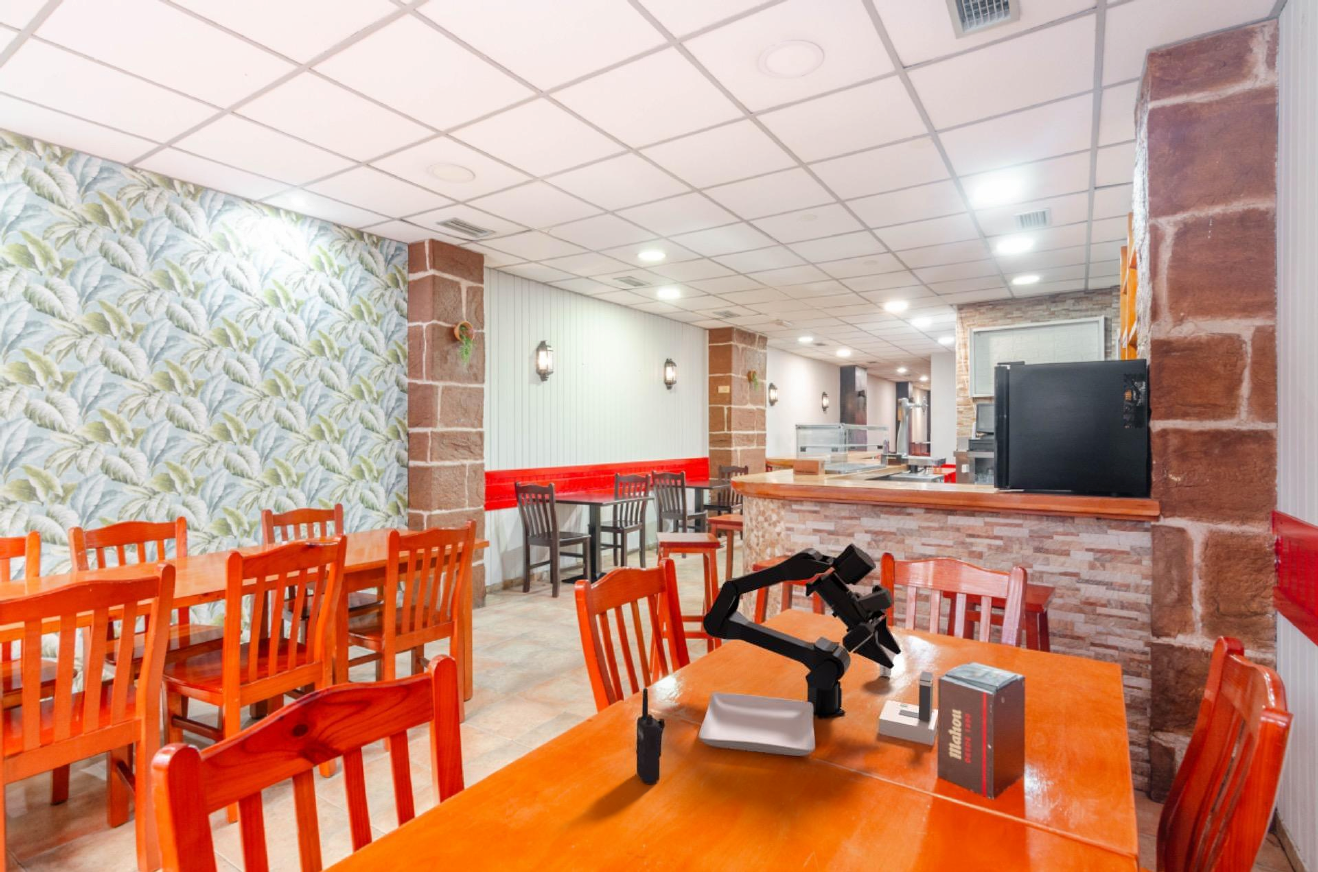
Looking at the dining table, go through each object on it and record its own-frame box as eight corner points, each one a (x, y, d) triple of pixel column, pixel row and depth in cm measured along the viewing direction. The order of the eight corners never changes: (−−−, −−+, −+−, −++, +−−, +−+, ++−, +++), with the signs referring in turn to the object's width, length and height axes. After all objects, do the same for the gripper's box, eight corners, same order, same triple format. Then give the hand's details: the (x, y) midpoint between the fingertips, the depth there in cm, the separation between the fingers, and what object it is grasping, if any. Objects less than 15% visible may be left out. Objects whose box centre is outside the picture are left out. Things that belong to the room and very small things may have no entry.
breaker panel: (878, 733, 131) (878, 717, 131) (886, 713, 140) (887, 699, 140) (933, 745, 127) (933, 729, 127) (938, 724, 136) (938, 709, 136)
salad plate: (815, 767, 119) (815, 748, 119) (696, 754, 123) (697, 735, 123) (813, 716, 140) (813, 700, 140) (711, 706, 144) (711, 690, 144)
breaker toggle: (918, 719, 130) (919, 679, 130) (921, 709, 135) (922, 670, 135) (929, 721, 129) (930, 681, 129) (932, 711, 134) (933, 672, 134)
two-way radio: (633, 771, 116) (634, 685, 116) (657, 766, 118) (658, 682, 117) (644, 787, 111) (645, 697, 111) (669, 782, 113) (670, 694, 112)
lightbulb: (895, 672, 164) (896, 627, 164) (902, 682, 158) (903, 635, 158) (868, 670, 165) (869, 626, 164) (874, 680, 158) (875, 634, 158)
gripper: (859, 583, 129) (920, 649, 124) (876, 565, 145) (931, 623, 140) (818, 619, 132) (876, 684, 127) (840, 598, 149) (892, 655, 144)
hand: (896, 660), depth 134 cm, fingers open, 9 cm apart
